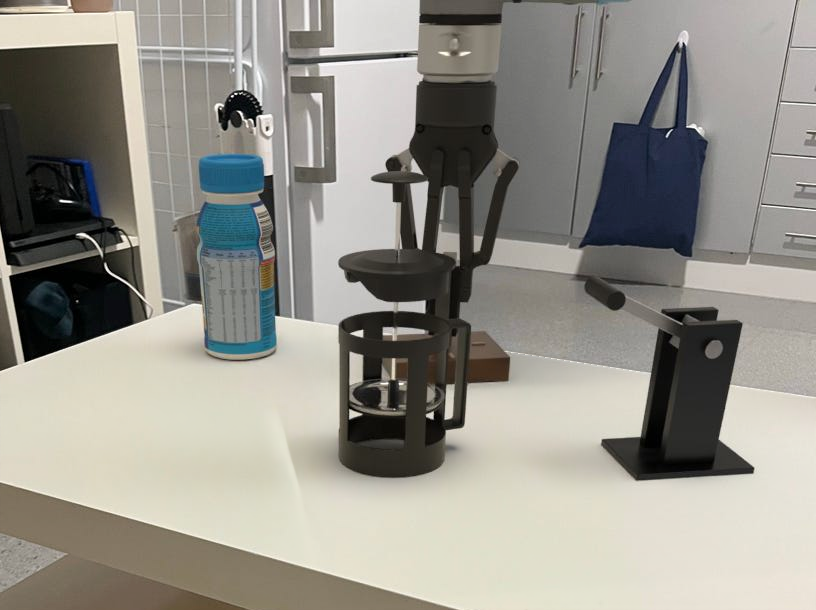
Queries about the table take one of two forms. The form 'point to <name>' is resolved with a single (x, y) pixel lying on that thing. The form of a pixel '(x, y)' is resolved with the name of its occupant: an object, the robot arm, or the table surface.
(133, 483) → the table surface
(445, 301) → the dark gray upright plate
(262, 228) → the beverage bottle
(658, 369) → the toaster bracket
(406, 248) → the robot arm
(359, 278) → the french press
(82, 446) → the table surface
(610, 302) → the lever
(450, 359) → the brown box
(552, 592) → the table surface
